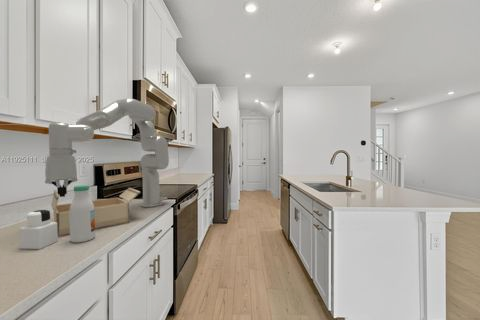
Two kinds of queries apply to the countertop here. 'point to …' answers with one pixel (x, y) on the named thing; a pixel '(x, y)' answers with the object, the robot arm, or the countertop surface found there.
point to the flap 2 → (129, 194)
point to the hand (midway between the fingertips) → (62, 196)
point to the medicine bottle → (38, 231)
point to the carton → (105, 214)
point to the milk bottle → (81, 216)
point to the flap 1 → (55, 200)
